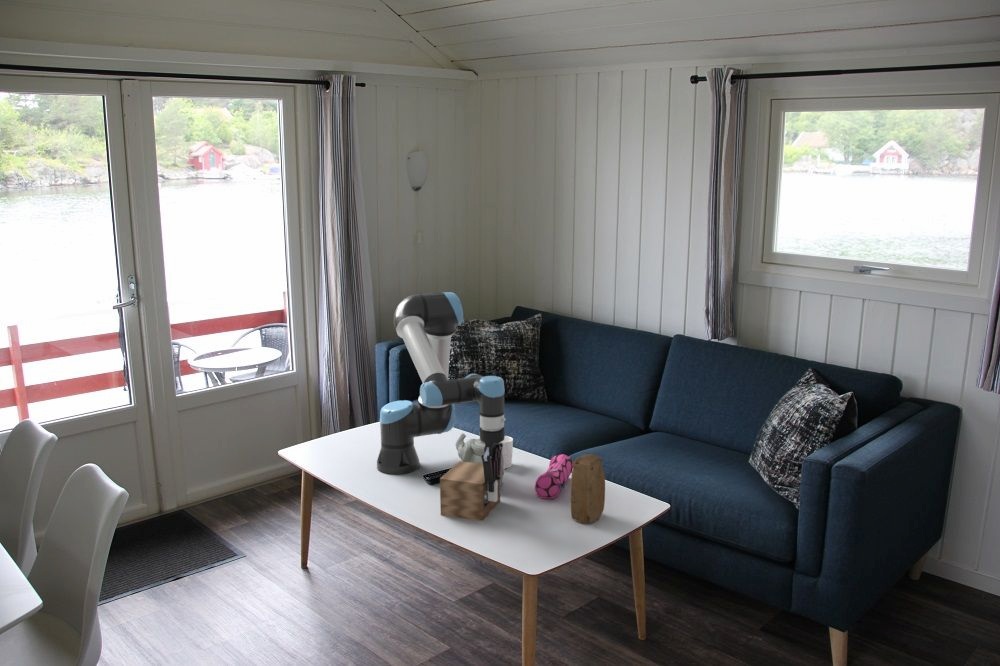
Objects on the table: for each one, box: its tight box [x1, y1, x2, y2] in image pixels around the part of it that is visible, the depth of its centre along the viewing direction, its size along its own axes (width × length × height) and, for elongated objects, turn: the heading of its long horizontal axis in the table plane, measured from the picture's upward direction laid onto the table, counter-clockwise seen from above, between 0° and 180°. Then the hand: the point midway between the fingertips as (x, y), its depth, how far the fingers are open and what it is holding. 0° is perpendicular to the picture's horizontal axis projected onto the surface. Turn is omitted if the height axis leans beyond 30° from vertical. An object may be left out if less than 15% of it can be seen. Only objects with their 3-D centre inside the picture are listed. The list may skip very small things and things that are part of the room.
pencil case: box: [534, 453, 573, 500], centre depth 288 cm, size 21×10×10 cm, turn 165°
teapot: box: [455, 432, 505, 487], centre depth 292 cm, size 16×15×19 cm
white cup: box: [502, 435, 514, 470], centre depth 309 cm, size 8×8×10 cm
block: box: [570, 453, 606, 524], centre depth 264 cm, size 11×8×20 cm
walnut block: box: [439, 460, 501, 522], centre depth 273 cm, size 14×16×12 cm
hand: (492, 500), depth 266 cm, fingers closed
